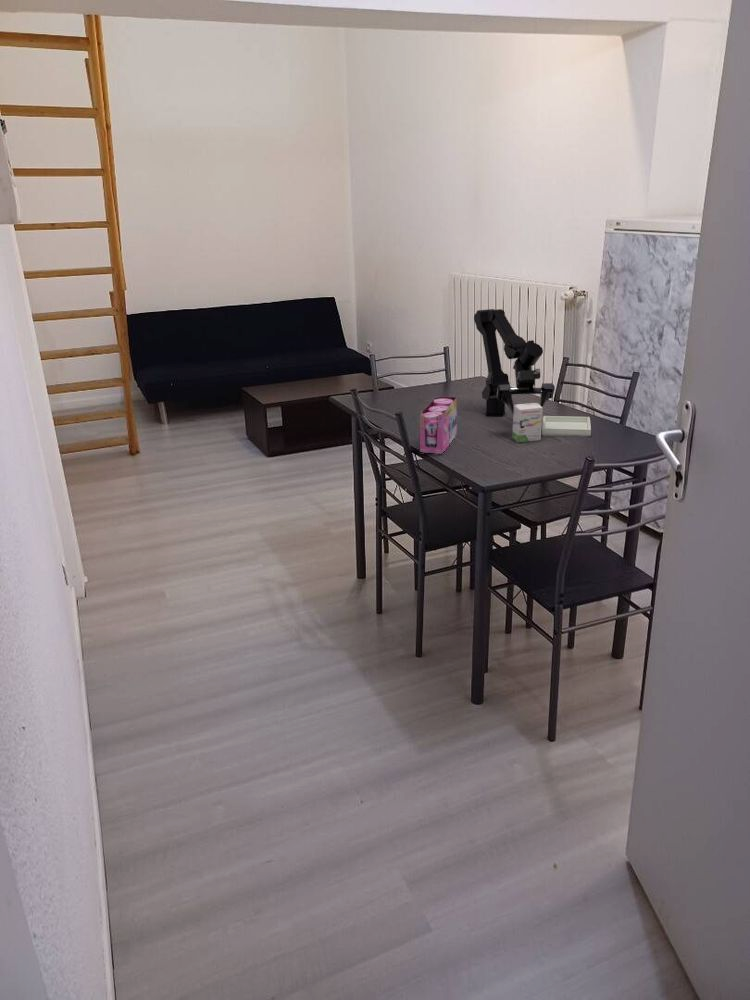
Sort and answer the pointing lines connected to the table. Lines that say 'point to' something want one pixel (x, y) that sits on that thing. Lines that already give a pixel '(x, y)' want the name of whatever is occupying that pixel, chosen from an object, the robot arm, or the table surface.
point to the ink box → (527, 422)
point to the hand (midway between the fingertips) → (527, 413)
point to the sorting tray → (566, 426)
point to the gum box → (438, 424)
